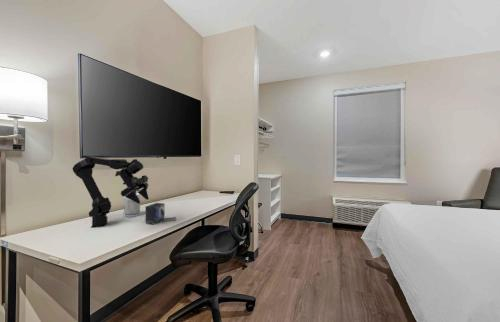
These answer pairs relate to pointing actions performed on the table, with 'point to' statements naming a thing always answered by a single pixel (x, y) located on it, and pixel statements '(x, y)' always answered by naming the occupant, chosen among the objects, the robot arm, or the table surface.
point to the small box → (155, 213)
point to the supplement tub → (131, 207)
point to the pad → (169, 219)
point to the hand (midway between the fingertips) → (143, 201)
